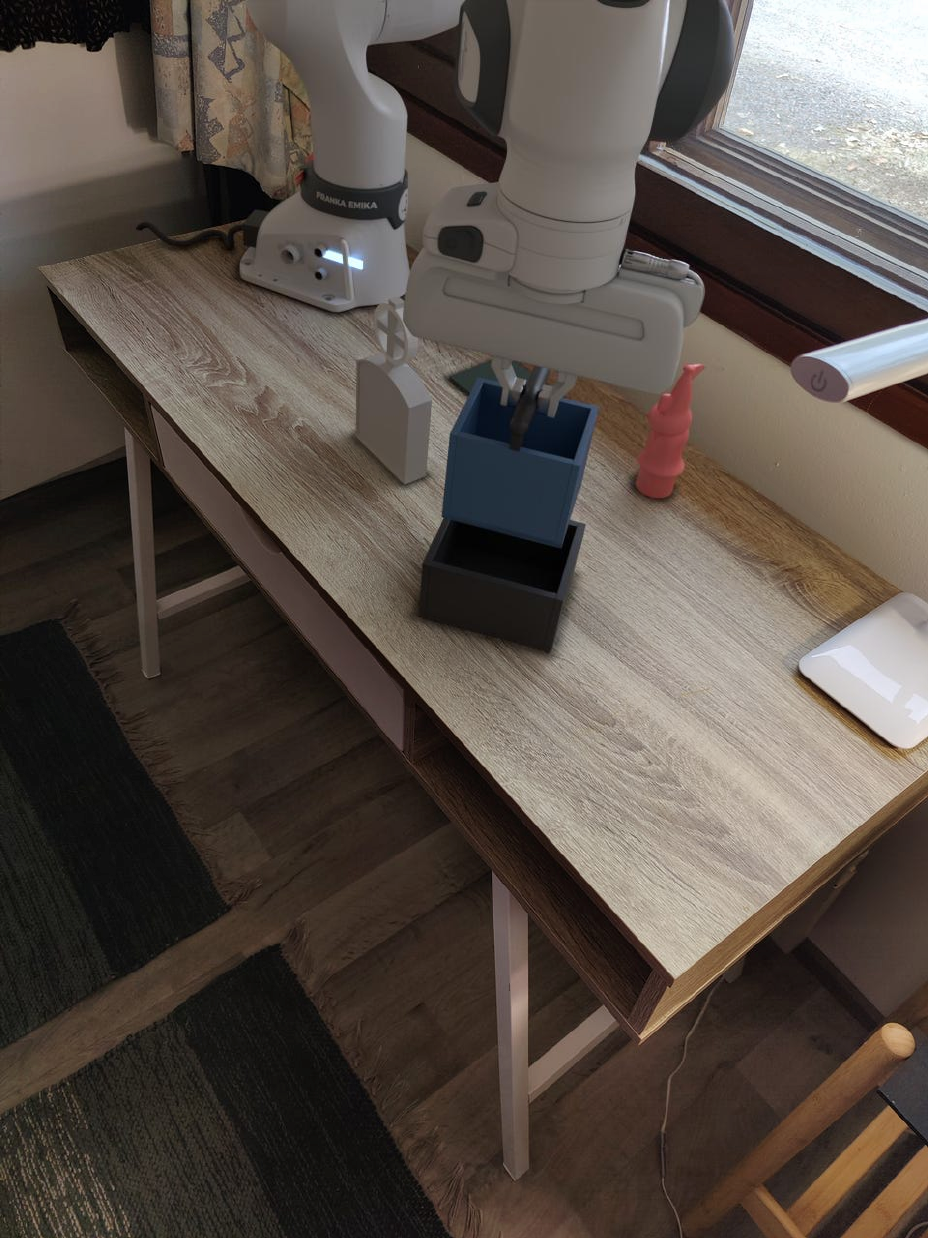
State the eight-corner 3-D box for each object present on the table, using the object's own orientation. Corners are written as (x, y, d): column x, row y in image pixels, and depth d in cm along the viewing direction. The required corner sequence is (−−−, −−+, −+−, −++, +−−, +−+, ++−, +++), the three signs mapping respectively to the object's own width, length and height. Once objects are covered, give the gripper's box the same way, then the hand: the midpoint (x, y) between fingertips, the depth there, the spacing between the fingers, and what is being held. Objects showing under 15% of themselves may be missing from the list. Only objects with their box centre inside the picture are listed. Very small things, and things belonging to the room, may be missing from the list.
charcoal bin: (417, 616, 86) (422, 563, 81) (449, 543, 93) (455, 490, 88) (550, 652, 85) (563, 601, 80) (573, 575, 92) (586, 523, 87)
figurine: (648, 464, 105) (684, 343, 94) (686, 487, 103) (727, 366, 92) (620, 483, 102) (653, 360, 91) (658, 507, 100) (697, 385, 89)
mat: (448, 378, 112) (449, 375, 112) (506, 357, 117) (507, 354, 116) (525, 441, 106) (526, 438, 105) (584, 416, 110) (585, 413, 110)
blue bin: (439, 520, 78) (451, 406, 70) (469, 456, 84) (482, 345, 76) (560, 551, 77) (585, 440, 69) (581, 485, 83) (607, 374, 75)
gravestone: (376, 428, 105) (381, 274, 91) (426, 475, 100) (438, 320, 87) (355, 436, 103) (357, 280, 90) (404, 484, 99) (413, 327, 85)
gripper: (717, 247, 64) (665, 416, 75) (428, 184, 67) (417, 356, 77) (707, 291, 60) (654, 464, 70) (400, 221, 63) (392, 398, 73)
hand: (528, 407), depth 74 cm, fingers closed on blue bin
